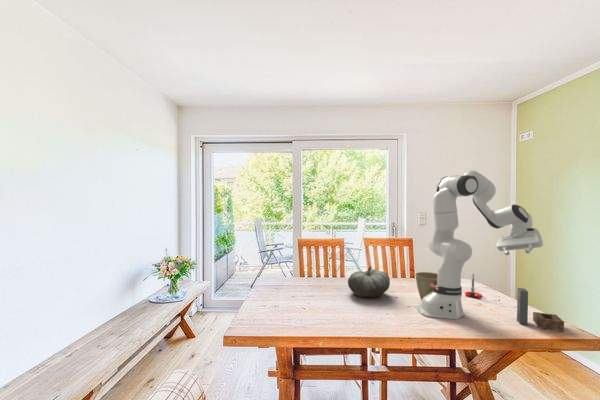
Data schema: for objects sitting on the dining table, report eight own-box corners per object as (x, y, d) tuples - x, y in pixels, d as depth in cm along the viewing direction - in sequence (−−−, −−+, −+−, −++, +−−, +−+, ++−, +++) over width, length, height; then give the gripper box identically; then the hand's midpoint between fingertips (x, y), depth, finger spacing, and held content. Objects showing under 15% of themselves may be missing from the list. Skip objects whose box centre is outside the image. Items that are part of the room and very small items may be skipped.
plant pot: (447, 309, 163) (447, 279, 163) (417, 307, 166) (418, 278, 166) (440, 299, 178) (440, 272, 177) (413, 297, 181) (413, 271, 180)
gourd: (400, 294, 179) (394, 265, 179) (365, 306, 170) (359, 276, 170) (375, 286, 202) (370, 261, 202) (343, 297, 193) (338, 270, 193)
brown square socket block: (539, 328, 139) (539, 318, 139) (533, 321, 148) (533, 311, 148) (564, 332, 136) (564, 322, 136) (556, 324, 144) (556, 314, 144)
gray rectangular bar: (519, 324, 144) (520, 290, 144) (516, 320, 149) (517, 287, 148) (527, 325, 143) (528, 291, 143) (524, 321, 147) (524, 288, 147)
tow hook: (465, 292, 192) (463, 296, 184) (466, 270, 192) (464, 273, 184) (482, 295, 187) (481, 299, 179) (482, 272, 187) (481, 275, 179)
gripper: (496, 233, 171) (492, 250, 163) (540, 227, 155) (537, 246, 147) (501, 242, 172) (497, 259, 164) (545, 237, 156) (543, 255, 148)
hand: (516, 253), depth 155 cm, fingers open, 8 cm apart
